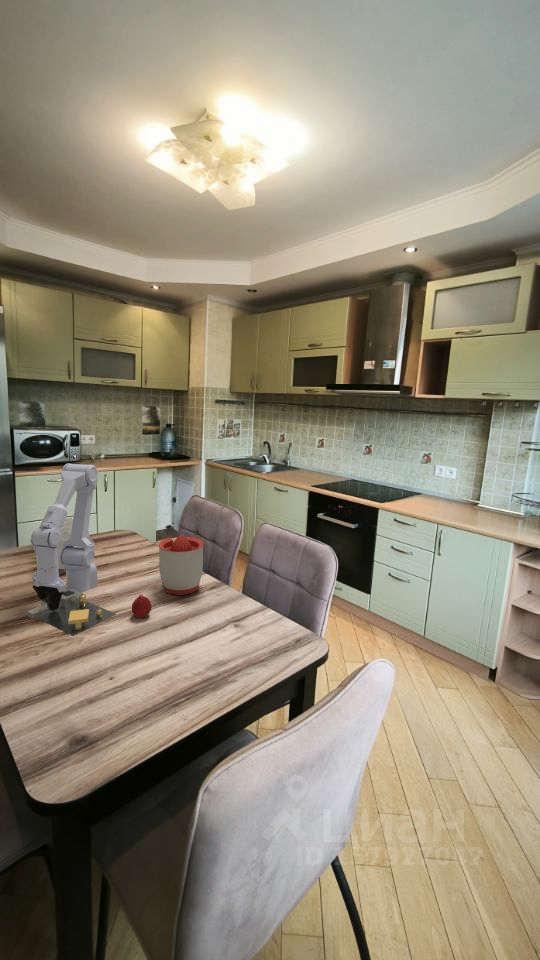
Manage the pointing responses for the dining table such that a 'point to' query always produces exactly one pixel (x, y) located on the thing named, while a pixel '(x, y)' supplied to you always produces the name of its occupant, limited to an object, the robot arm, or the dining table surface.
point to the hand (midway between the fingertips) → (50, 607)
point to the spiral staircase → (65, 536)
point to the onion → (141, 606)
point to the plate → (61, 622)
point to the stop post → (99, 613)
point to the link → (67, 600)
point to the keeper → (78, 618)
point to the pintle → (82, 600)
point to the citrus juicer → (181, 564)
